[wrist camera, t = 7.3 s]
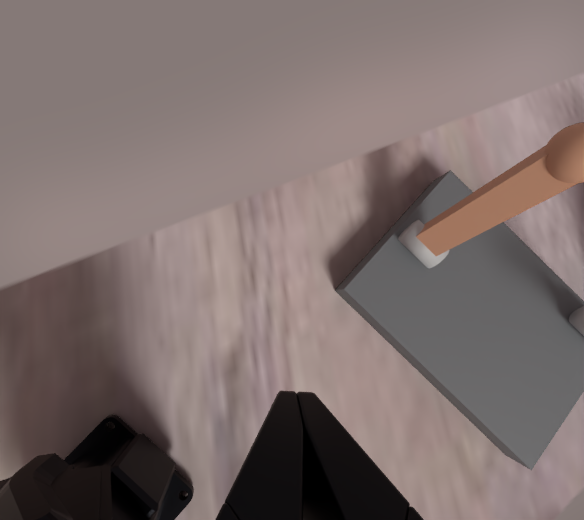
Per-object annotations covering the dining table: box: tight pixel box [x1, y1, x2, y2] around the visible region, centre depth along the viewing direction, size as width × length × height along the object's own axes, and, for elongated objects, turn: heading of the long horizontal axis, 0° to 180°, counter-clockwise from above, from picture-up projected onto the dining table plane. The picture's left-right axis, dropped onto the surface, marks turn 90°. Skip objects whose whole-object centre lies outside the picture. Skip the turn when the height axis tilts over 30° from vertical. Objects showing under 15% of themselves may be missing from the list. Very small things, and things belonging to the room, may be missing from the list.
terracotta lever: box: [398, 123, 584, 268], centre depth 16 cm, size 2×2×10 cm
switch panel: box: [335, 170, 584, 470], centre depth 22 cm, size 10×16×2 cm
